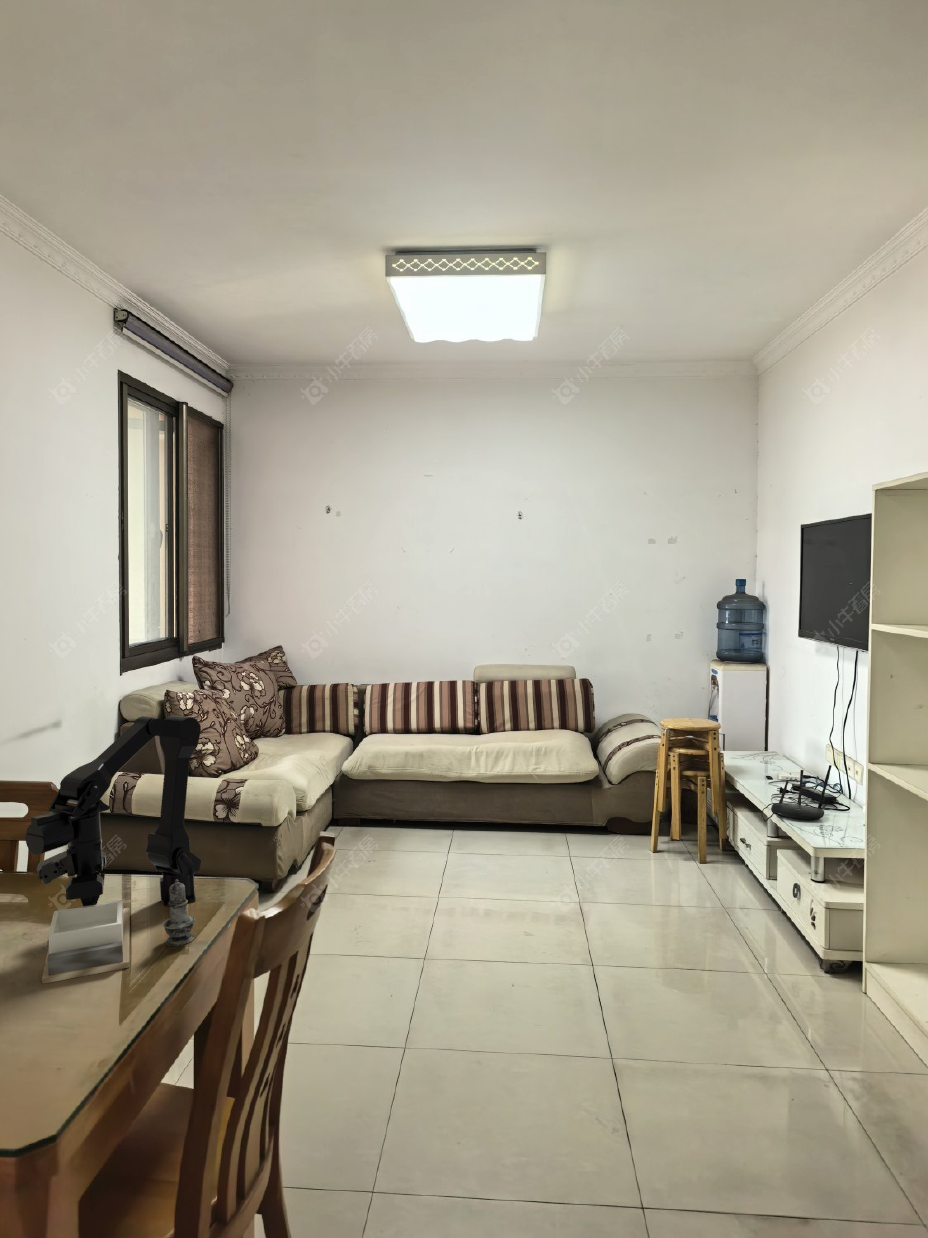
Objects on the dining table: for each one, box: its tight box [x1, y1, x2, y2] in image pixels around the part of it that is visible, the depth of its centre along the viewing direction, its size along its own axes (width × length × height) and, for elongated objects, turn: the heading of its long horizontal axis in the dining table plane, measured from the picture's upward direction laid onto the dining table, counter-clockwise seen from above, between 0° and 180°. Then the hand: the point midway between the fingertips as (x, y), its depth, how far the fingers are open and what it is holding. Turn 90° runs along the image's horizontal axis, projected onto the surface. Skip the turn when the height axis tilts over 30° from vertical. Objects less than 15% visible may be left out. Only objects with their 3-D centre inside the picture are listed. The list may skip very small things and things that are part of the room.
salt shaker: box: [162, 879, 196, 947], centre depth 160 cm, size 6×6×12 cm
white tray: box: [47, 900, 123, 954], centre depth 156 cm, size 12×12×5 cm
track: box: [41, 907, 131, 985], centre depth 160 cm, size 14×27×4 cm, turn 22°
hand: (89, 916), depth 163 cm, fingers closed
